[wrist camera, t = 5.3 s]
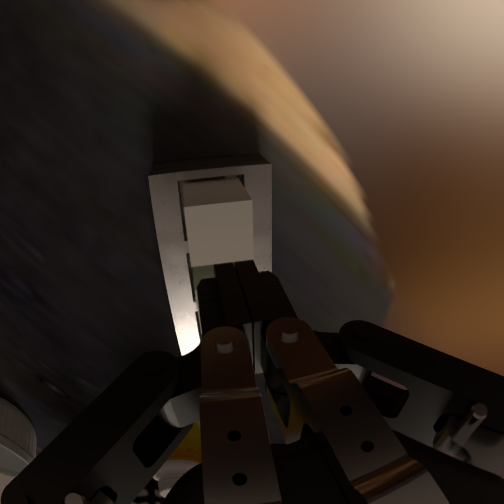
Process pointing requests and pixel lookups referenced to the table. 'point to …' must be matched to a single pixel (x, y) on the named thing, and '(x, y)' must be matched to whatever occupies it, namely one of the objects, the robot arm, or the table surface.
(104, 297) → the table surface
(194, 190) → the key ivory
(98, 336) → the table surface
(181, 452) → the supplement bottle
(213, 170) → the keypad frame
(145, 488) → the spotted tube
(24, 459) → the ramekin
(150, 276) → the table surface
